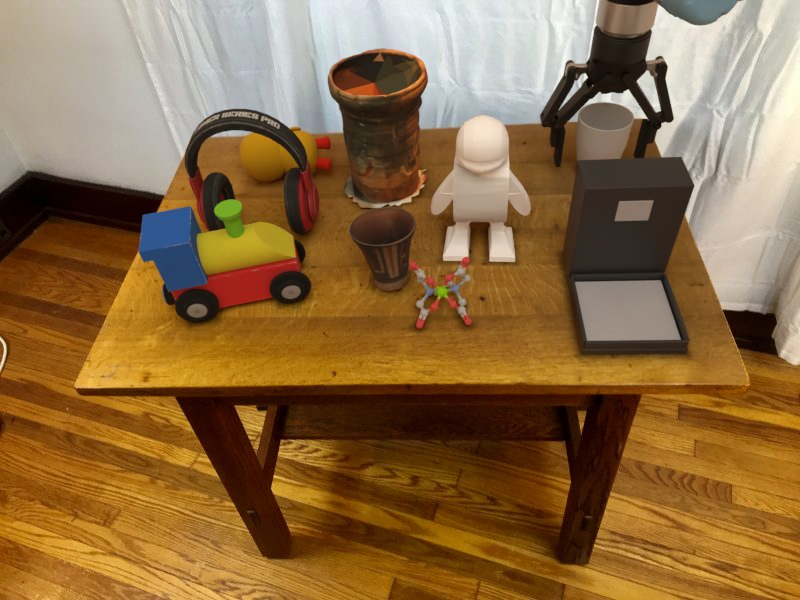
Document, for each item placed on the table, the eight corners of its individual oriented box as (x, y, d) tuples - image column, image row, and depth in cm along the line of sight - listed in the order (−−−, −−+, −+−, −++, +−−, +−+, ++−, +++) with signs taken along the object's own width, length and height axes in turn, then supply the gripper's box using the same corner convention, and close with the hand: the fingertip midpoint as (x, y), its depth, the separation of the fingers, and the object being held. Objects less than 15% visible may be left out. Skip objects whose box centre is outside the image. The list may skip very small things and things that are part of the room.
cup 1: (389, 246, 92) (383, 191, 85) (432, 274, 87) (430, 219, 80) (344, 277, 88) (333, 223, 81) (387, 309, 84) (380, 255, 76)
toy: (332, 135, 108) (246, 139, 108) (327, 116, 100) (233, 121, 99) (334, 186, 107) (247, 190, 107) (329, 171, 99) (235, 175, 99)
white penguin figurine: (430, 260, 89) (424, 140, 75) (434, 220, 95) (429, 101, 81) (528, 262, 88) (542, 140, 73) (525, 221, 94) (538, 100, 79)
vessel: (433, 210, 97) (429, 92, 82) (342, 215, 98) (322, 99, 83) (430, 157, 107) (426, 43, 92) (348, 161, 107) (330, 49, 93)
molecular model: (411, 290, 86) (407, 251, 80) (468, 286, 85) (469, 246, 80) (413, 330, 81) (410, 291, 75) (474, 326, 80) (475, 286, 75)
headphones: (324, 205, 100) (301, 90, 85) (319, 247, 93) (293, 130, 78) (217, 211, 101) (176, 98, 86) (204, 253, 94) (157, 138, 79)
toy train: (171, 286, 89) (130, 204, 78) (308, 259, 91) (287, 175, 80) (168, 332, 83) (124, 251, 72) (315, 302, 85) (293, 218, 74)
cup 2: (631, 177, 99) (645, 122, 92) (587, 191, 97) (598, 136, 90) (602, 151, 104) (613, 97, 97) (560, 164, 103) (567, 110, 95)
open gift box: (686, 354, 75) (728, 258, 64) (581, 355, 76) (604, 261, 64) (651, 252, 87) (681, 156, 76) (562, 254, 88) (577, 160, 77)
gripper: (708, 10, 85) (669, 144, 101) (529, 19, 87) (518, 150, 103) (725, 34, 80) (681, 172, 96) (535, 43, 82) (522, 177, 98)
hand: (597, 161), depth 99 cm, fingers open, 12 cm apart
